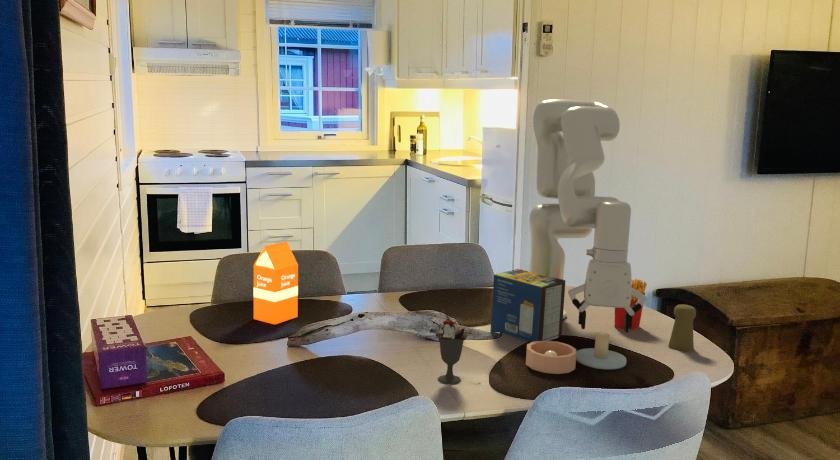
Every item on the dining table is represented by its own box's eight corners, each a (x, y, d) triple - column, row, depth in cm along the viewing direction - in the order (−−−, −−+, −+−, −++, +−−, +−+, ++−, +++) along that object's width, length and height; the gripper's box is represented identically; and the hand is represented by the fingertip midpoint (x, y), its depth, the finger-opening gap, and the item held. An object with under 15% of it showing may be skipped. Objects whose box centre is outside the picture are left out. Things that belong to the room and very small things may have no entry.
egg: (540, 364, 162) (541, 350, 162) (547, 360, 165) (548, 347, 164) (553, 368, 160) (554, 354, 160) (560, 364, 163) (561, 350, 162)
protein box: (514, 324, 194) (517, 268, 191) (562, 339, 183) (566, 280, 180) (489, 332, 186) (492, 273, 184) (537, 347, 176) (541, 286, 173)
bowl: (516, 367, 162) (517, 348, 161) (540, 355, 170) (542, 337, 169) (559, 380, 155) (561, 361, 154) (583, 367, 163) (584, 348, 163)
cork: (695, 353, 176) (700, 310, 174) (670, 350, 177) (674, 307, 175) (691, 345, 182) (696, 303, 180) (666, 342, 183) (671, 301, 181)
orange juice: (298, 316, 192) (298, 243, 189) (274, 324, 185) (275, 248, 182) (276, 311, 197) (276, 239, 193) (252, 318, 189) (252, 244, 186)
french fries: (619, 330, 192) (623, 283, 189) (609, 325, 196) (613, 279, 193) (646, 327, 196) (650, 281, 193) (635, 322, 199) (639, 277, 197)
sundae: (431, 374, 156) (434, 307, 153) (462, 374, 157) (466, 307, 154) (435, 385, 149) (438, 316, 147) (467, 386, 150) (470, 316, 147)
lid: (565, 360, 166) (568, 333, 165) (588, 348, 175) (590, 323, 173) (613, 374, 159) (615, 346, 157) (634, 360, 167) (636, 334, 166)
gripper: (571, 256, 160) (566, 330, 162) (652, 261, 157) (645, 337, 160) (570, 250, 167) (565, 322, 170) (647, 255, 164) (641, 327, 167)
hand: (604, 329), depth 165 cm, fingers open, 9 cm apart
